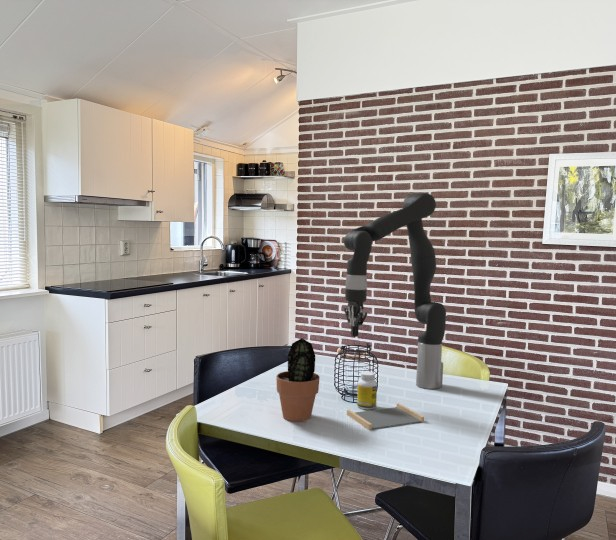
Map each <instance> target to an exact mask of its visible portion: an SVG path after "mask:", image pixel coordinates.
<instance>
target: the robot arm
mask: <svg viewBox="0 0 616 540" xmlns="http://www.w3.org/2000/svg"><path fill="white" fill-rule="evenodd" d="M436 204H437V202H436V199H435V197H434V196H433V195H432V194H431V193H428V192H427V193H426V192H420V193H419V192H418V193H410V194H408V195H406V196H405V198H404V200H403V204H402V208H401V209H398V210H395V211H392V212H389V213H387V214H384V215H382V216H379V217H378V218H376V219H374V220H372V221H371V222H369V223H368V224H364V225H362V226H359V227H356V228H354V229H352V230H350V231H349V232H347V233H346V235H345V236H344V239H343V245H344V247H345V249H347V250H349V251H353V255H352V257H351V258H349V259H347V263H346V278H345V292H344V294H345V295H344V296H345V297H344V299H345V301H346V302H348V303H347V307H345V308H343V310H344V314H345V318H346V320H347V324H349V325H350V336H351V337H353V338H356V337H359V329H360V328H359V327H360V326H362V325H363V324H364V322H365V320H366V318H367V316H368V313H367V311H364V307H365V306H364V303H365V302H367V299H368V298H367V296H368V294H367V292H368V277H367V276H368V275H367V273H368V272H367V270H368V262H369V259H370V255H371V251H372V247H373V242H377V241H380V240H382V239H383V238H385V237H387V236H388V235H391V233H393V232H395V231H397V230H399V229H401V228H403V227H405V226H406V230H407V234H408V235H407V236H408V241H409V251H410V252H409V253H410V260H411V261H410V263H411V268H412V278H413V290H414V315H415V318H416V320H417V322H419V323H420V324H423V325H426V328H425V331H424V332H422V333H419V335H418V336H417V352H416V353H417V357H416V358H417V359H416V376H415V377H416V378H415V380H416V381H415V385H416V386H417V387H419V388H422V389H429V390H436V389H439V388H441V387H443V381H444V380H443V378H444V377H443V376H444V362H443V361H442V357H443V356H442V353H443V352H442V351H443V339H444V336H445V332H446V323H447V309H446V307H445V305H444V304H443V303H441V302H437V301H432V299H431V285H432V281H433V279H434V276H435V274H436V271H437V259H436V257H437V256H436V251H435V248H434V246H433V244H432V242H431V240H430V239H429V237H428V235H427V234H426V231H425V229H424V226H423V225H424V224H423V219H424V218H428V217H429V216H431V215H433V213H435V211H436V207H437V205H436Z"/></svg>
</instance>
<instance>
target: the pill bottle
mask: <svg viewBox="0 0 616 540" xmlns="http://www.w3.org/2000/svg"><path fill="white" fill-rule="evenodd" d="M375 375H376V374H375V373H374V372H372V371H362V372H360V379H359V380H358V381H357V396H356V397H357V399H356V401H357V402H356V403H357V404H356V406H357V408H359V409H362V410H365V411H370V410H375V408H377V397H378V396H377V395H378V394H377V392H378V391H377V390H378V382H377V381H376V380H375Z"/></svg>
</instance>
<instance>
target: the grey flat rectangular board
mask: <svg viewBox="0 0 616 540" xmlns="http://www.w3.org/2000/svg"><path fill="white" fill-rule="evenodd" d="M346 415H347V416H348V417H349V416H350V417H349V418H351V419H353V420H354V421H355V422H357V423H358V424H360V425H361V426H363V427H364V428H366V429H367V430H369V431H371V430H378V429H384V428H385V429H386V428H391V427H400V426H404V425H405V426H407V425H411V424H419V423H425V416H424V415H422V414H420V413H418V412H416V411H414V410H413V409H410V408H408V407H407V406H405V405H404V404H402V403H400V402H399V403H396V406H395V407H388V408H386V407H385V408H379V409H370V410H364V411H362V410H361V411H355V412H354V411H353V410H352V409H346Z"/></svg>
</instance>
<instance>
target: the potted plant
mask: <svg viewBox="0 0 616 540" xmlns="http://www.w3.org/2000/svg"><path fill="white" fill-rule="evenodd" d="M288 351H289V352H288V353H287V370H286V371H283V372H282V371H281V372H279V373H277V374H276V376H275V377H276V392H277V394H278V395H279V396H278V397H279V401H280V408H281V412H282V417H283V419H285V420H286V421H290V422H297V423H298V422H307V421H309V420H310V419H311V418H312V415H313V414H312V413H313V409H314V406H315V400H316V395H317V394H319V389H320V388H319V387H320V377H321V376H320V375H319V374H318V373H315V371H316V354H315V350H314V348H313V344H312V343H311V342H309V341H307V340H306V338H305V339H304V338H303V337H301V338H300V339H297V340H296V341H294V342H292V343H291V346H290V349H289V350H288Z"/></svg>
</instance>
